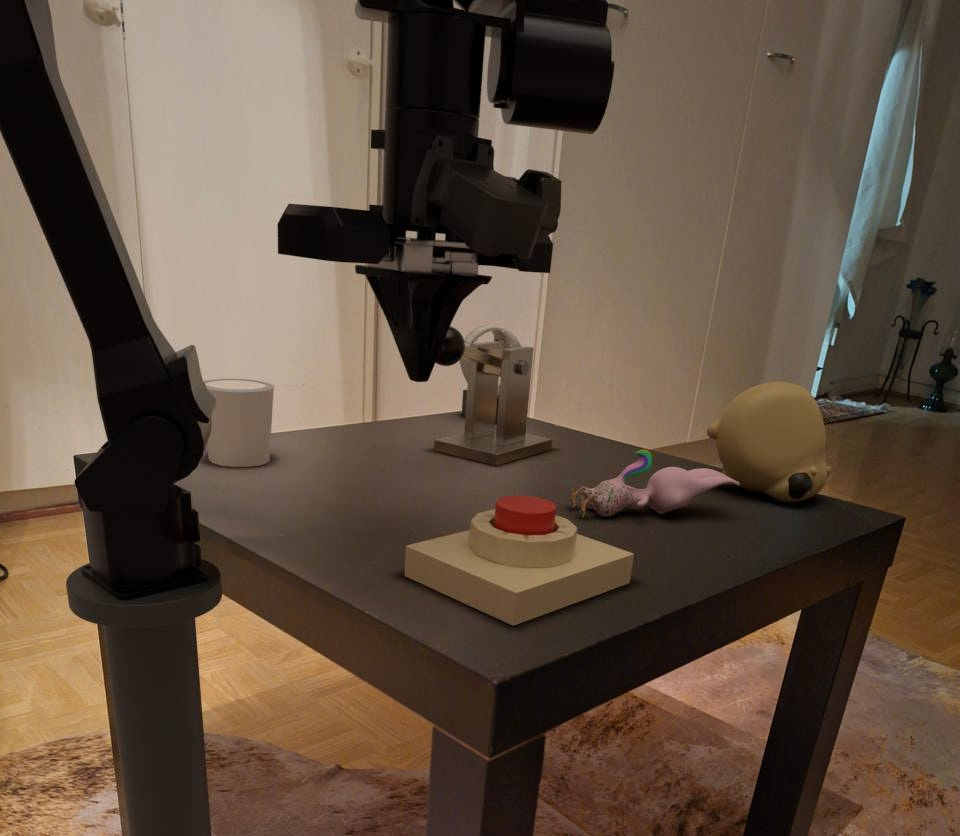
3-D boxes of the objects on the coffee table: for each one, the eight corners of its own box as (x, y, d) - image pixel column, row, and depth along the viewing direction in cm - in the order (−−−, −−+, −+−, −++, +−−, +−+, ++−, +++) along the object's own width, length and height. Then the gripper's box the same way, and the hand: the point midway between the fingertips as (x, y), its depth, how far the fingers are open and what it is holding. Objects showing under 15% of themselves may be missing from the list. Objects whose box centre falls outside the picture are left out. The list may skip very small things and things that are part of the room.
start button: (526, 543, 55) (528, 516, 54) (481, 526, 58) (483, 500, 57) (566, 532, 58) (569, 506, 57) (521, 516, 60) (524, 491, 59)
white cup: (186, 461, 81) (180, 383, 78) (231, 447, 87) (227, 375, 84) (248, 472, 79) (244, 393, 76) (290, 457, 84) (288, 384, 81)
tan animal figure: (736, 536, 84) (834, 483, 76) (677, 428, 84) (768, 364, 77) (778, 514, 91) (872, 464, 83) (723, 414, 91) (812, 355, 83)
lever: (446, 365, 79) (454, 324, 79) (415, 359, 81) (422, 319, 80) (518, 386, 91) (525, 350, 90) (489, 381, 92) (496, 346, 91)
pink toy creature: (589, 539, 72) (752, 510, 75) (587, 470, 70) (756, 442, 72) (564, 517, 78) (717, 490, 80) (561, 451, 75) (720, 426, 78)
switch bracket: (496, 465, 88) (505, 354, 83) (433, 450, 91) (438, 343, 87) (551, 449, 96) (562, 347, 91) (491, 436, 100) (499, 338, 95)
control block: (513, 626, 52) (519, 564, 50) (404, 576, 58) (406, 519, 57) (630, 583, 60) (638, 528, 58) (523, 543, 66) (528, 492, 65)
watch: (526, 422, 109) (534, 330, 104) (469, 424, 105) (475, 328, 100) (504, 413, 113) (511, 324, 108) (448, 415, 109) (454, 322, 105)
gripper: (397, 82, 41) (385, 414, 48) (631, 136, 54) (596, 394, 60) (269, 91, 48) (274, 380, 55) (503, 137, 60) (484, 368, 67)
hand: (418, 381), depth 59 cm, fingers closed
